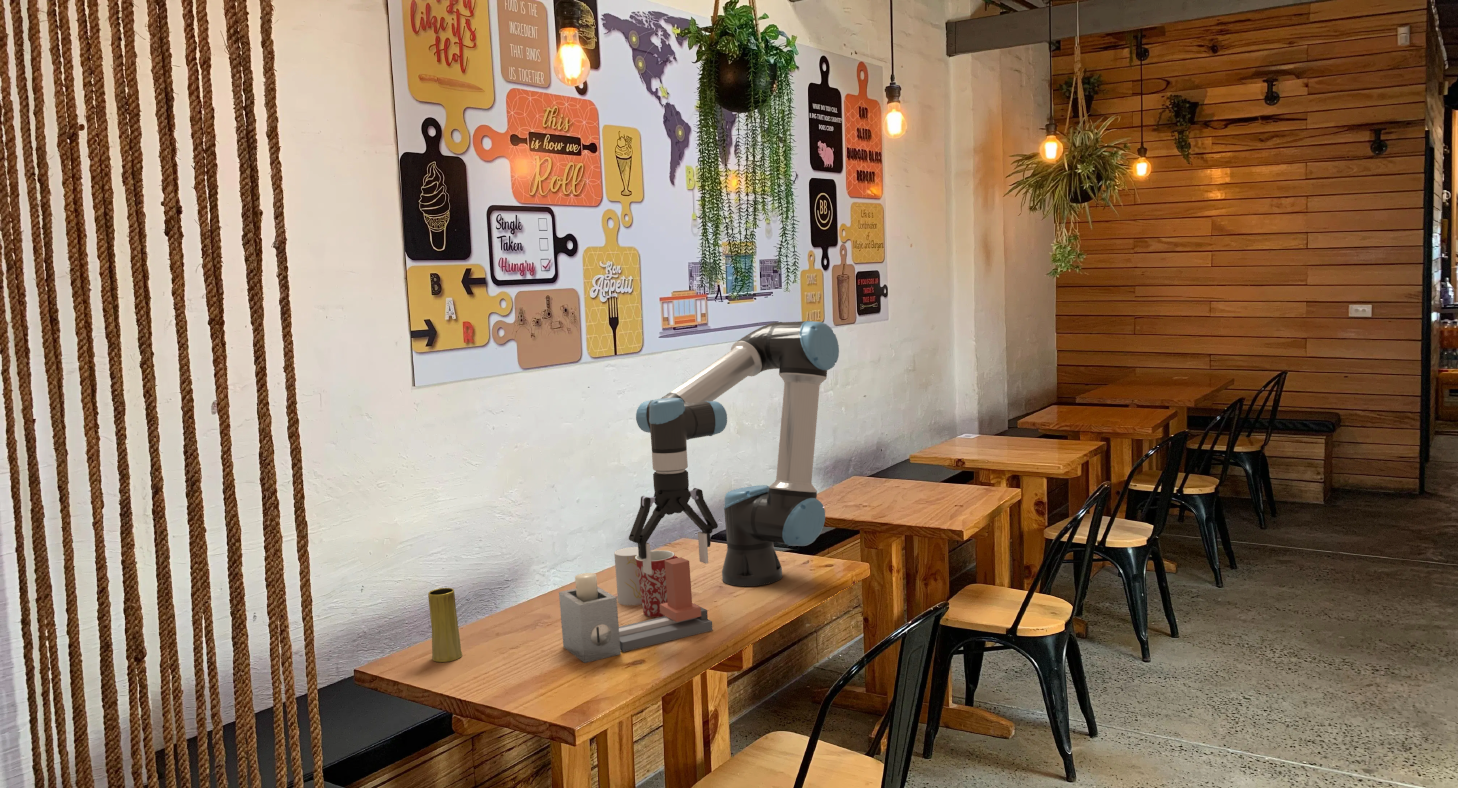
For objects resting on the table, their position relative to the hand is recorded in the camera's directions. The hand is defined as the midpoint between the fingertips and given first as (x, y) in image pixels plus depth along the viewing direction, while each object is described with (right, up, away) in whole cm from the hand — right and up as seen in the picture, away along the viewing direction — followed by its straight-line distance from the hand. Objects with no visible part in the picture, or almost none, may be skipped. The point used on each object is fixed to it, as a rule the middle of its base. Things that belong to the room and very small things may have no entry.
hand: (676, 567), depth 231 cm
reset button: (-18, -5, -9) cm, 21 cm away
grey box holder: (-17, -16, -8) cm, 25 cm away
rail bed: (-4, -14, -1) cm, 15 cm away
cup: (-11, -12, +26) cm, 31 cm away
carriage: (+1, -10, +1) cm, 11 cm away
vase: (-48, -18, -7) cm, 51 cm away
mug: (-4, -13, +16) cm, 21 cm away
